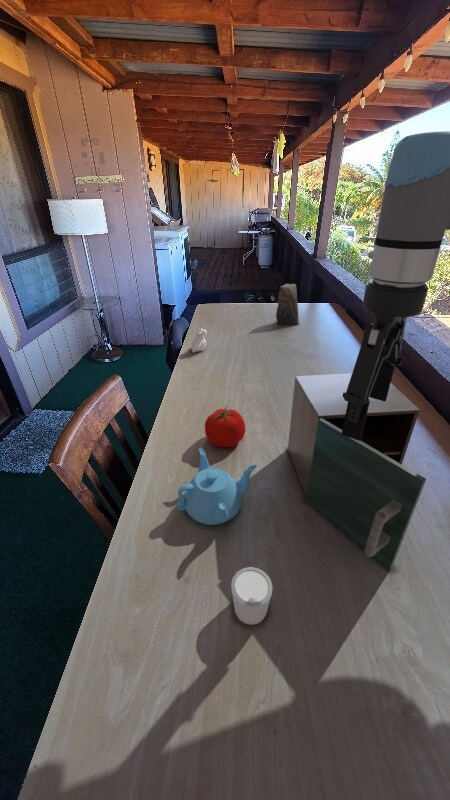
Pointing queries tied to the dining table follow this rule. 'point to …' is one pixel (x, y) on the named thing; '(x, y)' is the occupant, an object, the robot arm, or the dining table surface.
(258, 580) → the glass of milk
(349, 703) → the dining table surface
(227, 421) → the tomato
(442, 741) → the dining table surface
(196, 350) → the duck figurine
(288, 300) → the brown rock
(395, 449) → the cupboard
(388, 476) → the cupboard door
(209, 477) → the teapot
